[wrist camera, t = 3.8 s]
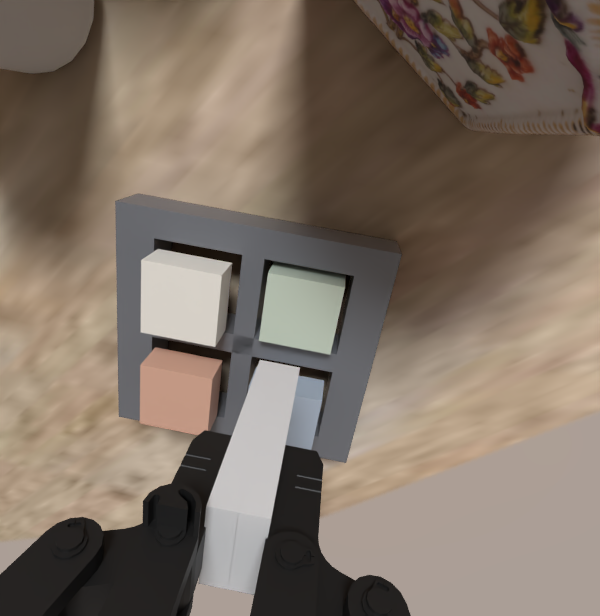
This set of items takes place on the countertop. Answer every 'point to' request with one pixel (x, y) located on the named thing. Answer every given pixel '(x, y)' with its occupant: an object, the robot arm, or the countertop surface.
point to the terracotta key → (179, 391)
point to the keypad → (258, 304)
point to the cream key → (184, 296)
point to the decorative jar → (503, 59)
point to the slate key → (304, 412)
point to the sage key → (301, 307)
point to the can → (42, 33)
